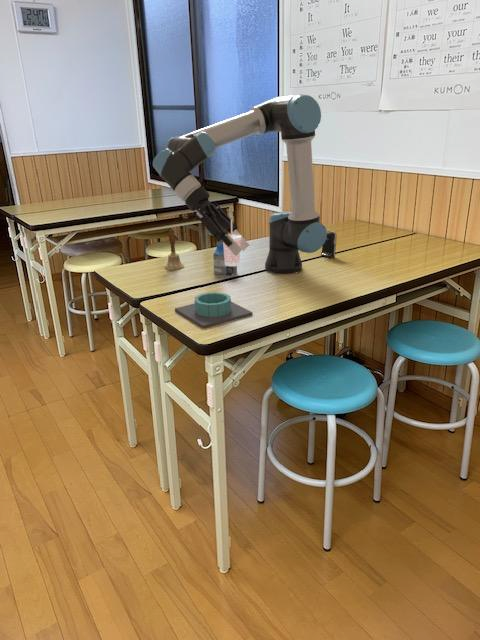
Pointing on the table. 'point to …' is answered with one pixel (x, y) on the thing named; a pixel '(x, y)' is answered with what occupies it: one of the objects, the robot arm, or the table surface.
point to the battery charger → (329, 245)
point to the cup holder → (212, 310)
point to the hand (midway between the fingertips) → (242, 250)
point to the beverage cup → (228, 255)
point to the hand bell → (173, 255)
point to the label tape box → (222, 262)
